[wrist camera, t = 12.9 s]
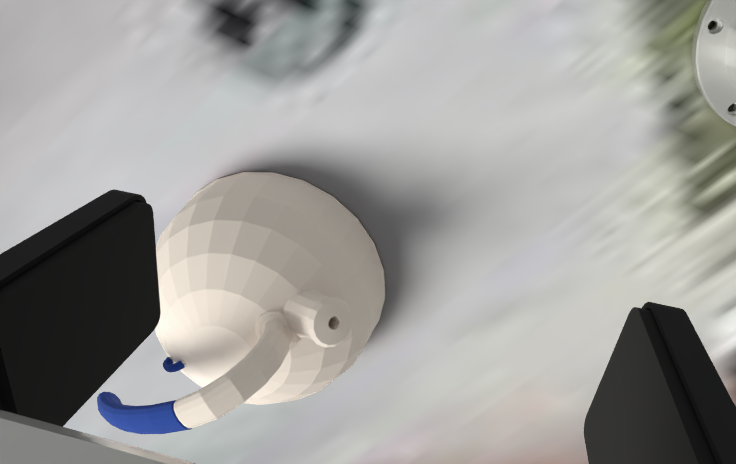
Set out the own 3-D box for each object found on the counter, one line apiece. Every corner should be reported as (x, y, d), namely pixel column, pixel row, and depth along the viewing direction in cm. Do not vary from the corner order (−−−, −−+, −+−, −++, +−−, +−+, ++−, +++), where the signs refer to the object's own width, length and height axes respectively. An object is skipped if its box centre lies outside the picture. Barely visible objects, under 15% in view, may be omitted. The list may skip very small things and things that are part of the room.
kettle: (426, 335, 49) (393, 514, 33) (243, 384, 56) (144, 549, 40) (323, 131, 42) (220, 231, 26) (131, 216, 50) (-39, 335, 34)
